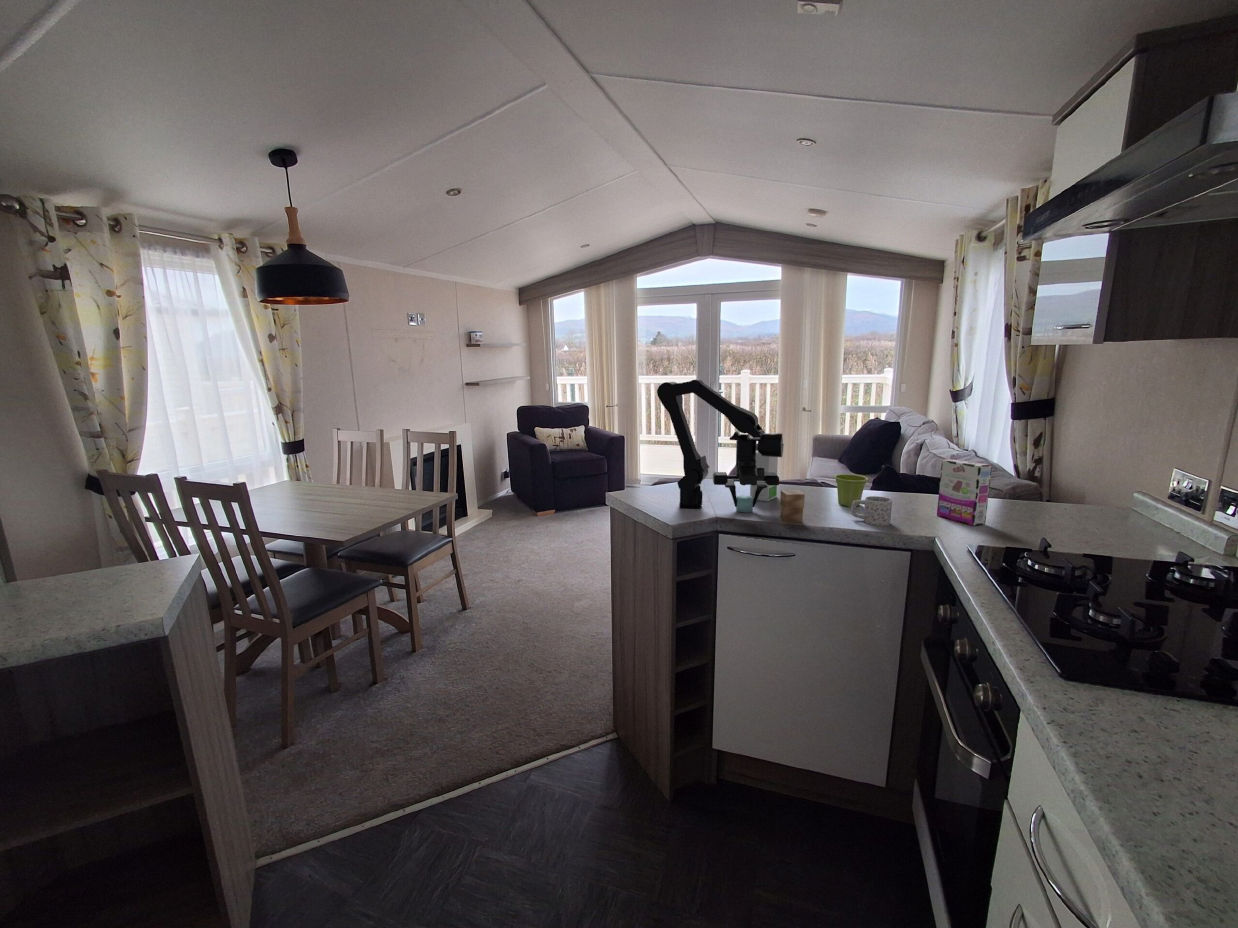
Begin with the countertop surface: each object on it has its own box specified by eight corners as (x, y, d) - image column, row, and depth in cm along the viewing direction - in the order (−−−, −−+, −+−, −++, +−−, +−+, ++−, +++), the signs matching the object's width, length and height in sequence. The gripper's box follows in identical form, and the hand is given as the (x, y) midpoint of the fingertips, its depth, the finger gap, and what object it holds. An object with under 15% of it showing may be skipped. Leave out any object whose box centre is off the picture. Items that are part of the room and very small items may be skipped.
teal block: (737, 512, 156) (737, 499, 156) (735, 507, 161) (735, 495, 160) (753, 512, 156) (754, 499, 155) (751, 508, 161) (751, 495, 160)
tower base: (783, 522, 148) (784, 508, 147) (780, 517, 152) (781, 503, 152) (802, 522, 147) (803, 508, 146) (798, 517, 152) (799, 503, 151)
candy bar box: (986, 524, 142) (993, 464, 139) (973, 526, 141) (980, 466, 138) (948, 513, 153) (953, 457, 150) (935, 515, 151) (941, 459, 148)
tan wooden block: (785, 508, 146) (786, 494, 146) (780, 503, 151) (780, 490, 151) (803, 508, 147) (804, 494, 146) (797, 503, 151) (798, 490, 151)
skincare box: (767, 502, 168) (769, 453, 165) (748, 499, 172) (749, 452, 169) (777, 496, 175) (779, 450, 172) (758, 494, 179) (760, 448, 176)
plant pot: (859, 500, 168) (861, 474, 167) (870, 508, 159) (872, 480, 157) (829, 500, 169) (830, 474, 167) (838, 508, 160) (839, 480, 158)
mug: (891, 521, 147) (893, 497, 146) (889, 527, 141) (891, 503, 140) (852, 516, 152) (853, 493, 151) (848, 522, 146) (850, 499, 145)
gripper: (715, 460, 149) (714, 513, 151) (784, 460, 147) (781, 514, 150) (713, 453, 159) (712, 503, 162) (776, 453, 158) (774, 504, 160)
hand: (744, 506), depth 158 cm, fingers closed on teal block, 5 cm apart
